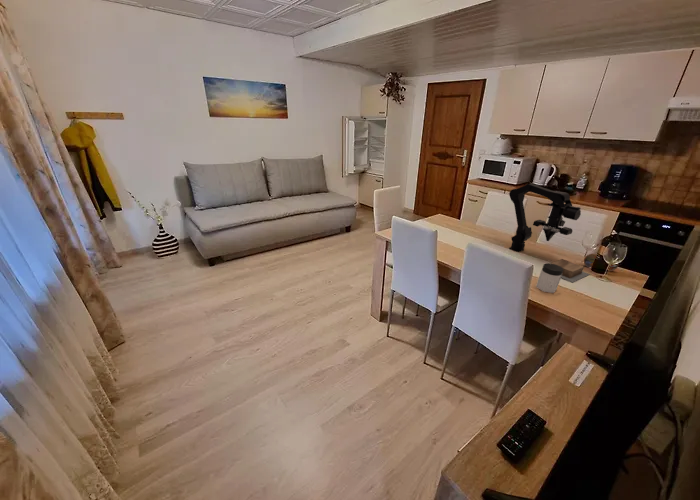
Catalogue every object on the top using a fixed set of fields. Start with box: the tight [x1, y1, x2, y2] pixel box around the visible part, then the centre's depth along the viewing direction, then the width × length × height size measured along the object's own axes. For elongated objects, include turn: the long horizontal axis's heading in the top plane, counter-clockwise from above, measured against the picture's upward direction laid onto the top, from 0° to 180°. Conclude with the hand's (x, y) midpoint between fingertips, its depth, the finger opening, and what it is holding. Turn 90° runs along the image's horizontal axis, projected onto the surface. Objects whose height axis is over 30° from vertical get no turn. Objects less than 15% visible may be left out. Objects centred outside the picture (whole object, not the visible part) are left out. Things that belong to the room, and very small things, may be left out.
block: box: [551, 258, 585, 278], centre depth 161 cm, size 4×12×11 cm
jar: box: [535, 262, 563, 294], centre depth 143 cm, size 9×8×12 cm
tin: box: [583, 253, 620, 272], centre depth 165 cm, size 15×3×8 cm, turn 62°
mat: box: [561, 270, 591, 284], centre depth 160 cm, size 13×18×1 cm
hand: (547, 240), depth 171 cm, fingers closed
